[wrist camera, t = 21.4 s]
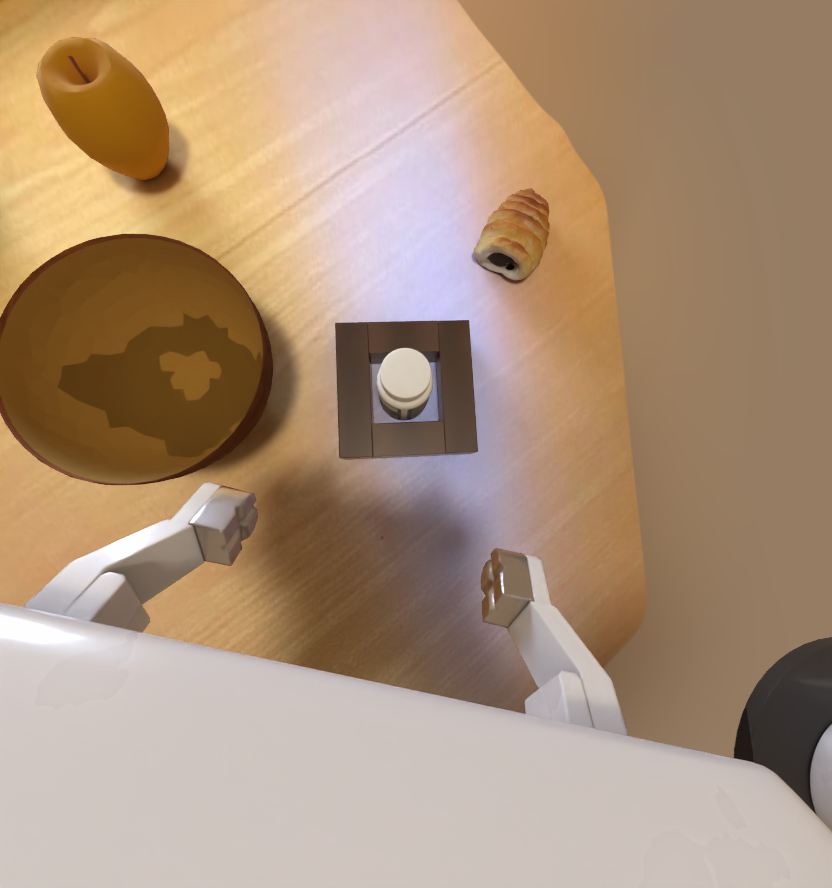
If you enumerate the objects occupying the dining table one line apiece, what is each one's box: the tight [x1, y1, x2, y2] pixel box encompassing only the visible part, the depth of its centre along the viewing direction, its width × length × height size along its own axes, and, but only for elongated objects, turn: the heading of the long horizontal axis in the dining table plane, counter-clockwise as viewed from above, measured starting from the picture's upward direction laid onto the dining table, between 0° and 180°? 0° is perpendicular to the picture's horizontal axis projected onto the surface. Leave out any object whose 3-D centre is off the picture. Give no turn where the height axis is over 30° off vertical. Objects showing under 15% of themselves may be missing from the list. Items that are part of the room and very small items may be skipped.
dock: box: [335, 320, 478, 460], centre depth 33 cm, size 13×13×3 cm
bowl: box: [0, 234, 273, 485], centre depth 28 cm, size 18×18×10 cm
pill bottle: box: [377, 348, 433, 420], centre depth 30 cm, size 5×5×8 cm
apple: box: [37, 37, 169, 180], centre depth 30 cm, size 8×8×9 cm
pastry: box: [474, 188, 549, 280], centre depth 35 cm, size 9×7×4 cm
